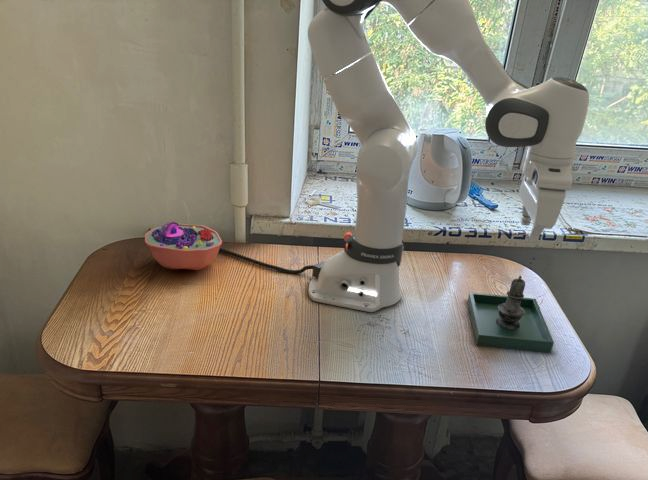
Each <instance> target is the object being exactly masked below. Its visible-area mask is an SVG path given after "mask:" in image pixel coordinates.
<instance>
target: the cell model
mask: <svg viewBox="0 0 648 480" xmlns="http://www.w3.org/2000/svg"><path fill="white" fill-rule="evenodd" d="M150 229H151V230H150V231H148V230H147V232H146V233H145V234H144V242H145V244H146V245H147V247H148V250H149V252H150V255H151V256H152V258H153V259H154V260H155V261H156V262H157V263H158V264H159V265H160V266H161V267H162V268H165V269H170V270H177V271H178V270H191V271H201V270H203V269H205V268H206V267H208V266H209V265H211V264H212V263H213V262H214V261H215V260H216V258H217V256H218V254H219V252H220V251H219V249H220V247H221V248H222V244H223V240H222V238H221V237H220V234H219V233H218V232H217V231H216V230H214V229H213V228H210V227H208V226H207V225H203V224H189V223H188V224H187V223H178V222H175V221H169V222H167V223H164V224H162V225H157V226H155V227H153V228H150Z"/></svg>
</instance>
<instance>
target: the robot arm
mask: <svg viewBox="0 0 648 480" xmlns="http://www.w3.org/2000/svg"><path fill="white" fill-rule="evenodd" d="M321 1H322V2H323V4H324V6H325V7H324V9H322V10H320V11H318V13H317V14H316V15H314V17H313V18H312V19H311V21H310V23H309V25H308V28H307V38H308V43H309V46H310V50H311V53H312V56H313V59H314V62H315V64H316V67H317V70H318V72H319V73H320V74H319V75H320V76H321V78H322V80H323V83H324V85H325V87H326V89H327V92H328V93H329V96H330V98H331V99H332V100H331V101H332V102H333V104H334V106H335V108H336V110H337V112H338V114H339V116H340V117H341V119H342V120H344V121H345V123H346V124H347V125H348V126H349V127H350V129H351V130H352V132H353V133H354V135H355V136H356V137H357V139H358V141H359V143H360V145H361V146H360V148H359V150H358V153H357V157H356V165H355V166H356V167H355V169H356V214H355V226H354V233H352V232H351V231H346V232H344V235H343V241H344V247H343V249H342V250H341V251H339V252H338V253H336V254H334V255H332V256H330V257H328V258H327V259H326V260H324V261H321V262H318V263H316V264H310V265H305V266H302V268H300V269H289V268H288V269H287V268H285V267H281V266H277V265H274V264H269V263H266V262H262V261H260V260H257V259H254V258H251V257H249V256H245V255H243V254H240V253H238V252H235V251H231V250H229V249H227V248H223V247H222V246H221V247H220V249H219V252H221V253H225V254H228V255H229V256H233V257H235V258H238V259H240V260H244V261H246V262H249V263H251V264H255V265H257V266H261V267H264V268H267V269H271V270H275V271H279V272H281V273H285V274H289V275H290V274H291V275H299V274H303V273H304V272H306V271H307V270H312V278H311V279H310V281H309V284H308V291H307V293H308V296H309V298H310V299H311V300H312V301H313V302H317V303H321V304H327V305H331V306H337V307H342V308H347V309H353V310H357V311H363V312H367V313H374V312H377V311H379V310H381V309H383V308H386V307H390V306H393V305H395V304H396V303H398V302H400V300H401V298H402V293H401V287H400V266H401V263H402V260H403V253H404V240H403V236H404V229H405V222H406V216H407V204H408V188H409V181H410V180H409V179H410V172H411V169H412V167H413V166H412V165H413V163H414V160H415V159H416V156H417V153H418V141H417V136H416V134H415V132H414V130H413V129H412V128H411V126H410V123H409V122H408V120H407V118H406V116H405V114H404V112H403V110H402V109H401V107H400V105H399V104H398V103H397V101H396V99H395V97H394V96H393V94H392V93H391V90H390V88H389V87H388V85H387V83H386V80H385V77H384V75H383V73H382V70H381V69H380V66H379V64H378V61H377V59H376V57H375V55H374V52H372V48H371V46H370V44H369V41H368V39H367V36H366V34H365V33H366V32H365V30H364V20H366V19H368V18H369V16H371V14H372V12H374V10H375V9H376V8H377V7H378V6H379V5H380V4H381V3H382V4H386V5H388V6H390V7H392V8H393V9H394V10H395V11H396V13H397V14H398V15H399V17H400V18H401V19H402V21H403V22H404V23H405V25H406V27H407V28H408V29H409V31H410V32H411V34H412V35H413V36H414V37H415V38H416V40H417V41H418V42H419V43H420V44H421V45H422V46H423V47H424V48H425V49H426V50H428V51H429V53H431V54H433V55H435V56H438V57H441V58H443V59H446V60H449V61H451V62H452V63H454V64H455V65H456V66H457V67H459V69H461V71H462V72H463V73H464V74H465V76H466V77H467V79H468V80H469V81H470V83H471V84H472V85H473V87H474V88H475V89H476V91H477V92H478V94H479V95H480V96H481V98H482V100H483V102H484V105H485V109H486V117H485V122H484V126H485V132H486V135H487V137H488V138H489V140H490V141H491V142H492V143H494V144H495V145H497V146H499V147H502V148H525V147H527V151H526V155H525V158H524V161H523V166H522V170H521V173H522V175H523V176H522V180H521V184H520V187H519V191H518V196H519V198H520V200H521V202H522V206H521V207H522V208H521V217H520V223H521V226H526V227H527V226H530V225H531V222H532V225H531V226H532V228H531V230H530V231H529V232H528V236H527V239H528V241H529V242H530V243H533V244H537V243H538V242H539V240H540V237H541V235H542V233H543V232H544V230H545V229H546V230H551V229H553V228H554V226H555V225H556V224H557V221H558V219H559V217H560V213H561V211H562V208H563V205H564V202H565V198H566V194H567V193H566V192H567V191H570V190H571V188H572V185H573V175H572V168H573V162H574V159H575V156H576V145H577V142H578V139H579V138H580V136H581V134H582V132H583V129H584V126H585V122H586V118H587V115H588V109H589V104H590V93H589V90H588V89H587V88H586V86H585V85H583V84H582V83H580V82H578V81H576V80H574V79H570V78H568V77H564V76H563V77H562V76H552V77H551V78H549V79H548V80H546V81H544V82H542V83H539V84H537V85H535V86H532V87H529V86H527V85H525V84H523V83H521V82H519V81H518V80H516V79H514V78H513V77H511V75H510V74H509V73H508V72H507V71H506V69H505V68H504V66H503V64H501V62H500V61H499V59H498V58H497V56H496V55H495V54H494V52H493V51H492V49H491V48H490V46H489V45H488V43H487V41H486V40H485V37H484V36H483V33H482V30H481V28H480V25H479V22H478V19H477V17H476V14H475V11H474V9H473V7H472V5H471V3H470V0H321ZM151 229H152V228H148V229H147V232H148V231H150V230H151Z"/></svg>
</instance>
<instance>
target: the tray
mask: <svg viewBox="0 0 648 480" xmlns="http://www.w3.org/2000/svg"><path fill="white" fill-rule="evenodd" d="M507 297H508V295H502V294H491V293H480V292H469V293H468V296H467V300H466V301H467V302H466V303H467V306H468V311H469V316H470V321H471V324H472V326H471V327H472V330H473V334H474V335H473V336H474V339H475V340H474V341H475V345H476V346H481V347H492V348H501V349H502V348H503V349H512V350H521V351H522V350H523V351H531V352H540V353H551V352H552V349H553V347H554V344H555V341H554V340H553V337H552V334H551V332H550V330H549V328H548V326H547V323H546V320H545V318H544V316H543V313H542V311H541V308H540V306H539V303H538V301H537V298H532V297H523V298H522V300H521V303H520V307H522V308H523V309H524V311H525V314H524V315H523V316H522V317H521V319H520V320H518V322H519V324H520V326H519V328H517V329H506V328H503V327H501V326H499V325H498V324H497V323H496V319H497V318H499V317H500V316H499V310H498V306H499V305H500V304H503V303H506V301H507Z"/></svg>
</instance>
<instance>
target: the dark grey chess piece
mask: <svg viewBox="0 0 648 480" xmlns="http://www.w3.org/2000/svg"><path fill="white" fill-rule="evenodd" d="M522 278H523V277H522V275H519V276H518V277H517V278H514V279H512V281H511V284H510V287H509V290H508V291H507V292H506V296H508V297H507V301H506V303H503V304H500V305H499V306H498V310H499V316H500V317H499V318H497V319H496V323H497V324H498V325H499V326H501V327H503V328H506V329H517V328H519V326H520V324H519V322H518V320H520V319H521V317H522V316H523V315H524V314H525V311H524V309H523V308H522V307H520V303H521V300H522V298H525V294H524V291H525V287H526V281H525V280H524V279H522Z"/></svg>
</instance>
